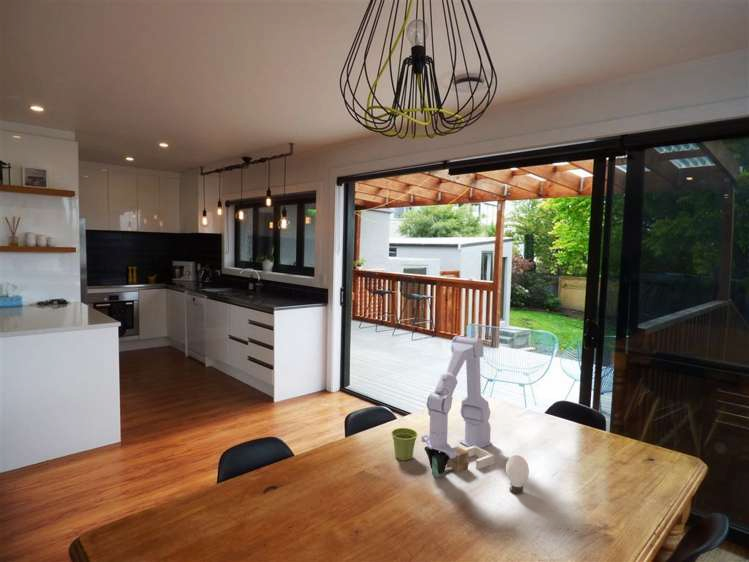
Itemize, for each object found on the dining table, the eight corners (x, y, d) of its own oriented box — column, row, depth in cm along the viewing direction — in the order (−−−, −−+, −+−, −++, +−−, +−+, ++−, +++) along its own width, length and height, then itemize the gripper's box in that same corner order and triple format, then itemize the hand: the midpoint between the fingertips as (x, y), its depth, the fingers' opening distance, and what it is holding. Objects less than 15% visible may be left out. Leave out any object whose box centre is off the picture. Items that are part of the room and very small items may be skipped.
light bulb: (512, 497, 131) (513, 462, 131) (501, 485, 138) (502, 452, 137) (532, 495, 133) (533, 460, 132) (520, 483, 139) (521, 450, 139)
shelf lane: (474, 453, 160) (475, 445, 160) (494, 463, 152) (494, 455, 152) (459, 458, 156) (459, 450, 155) (478, 469, 148) (478, 460, 148)
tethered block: (457, 463, 152) (457, 446, 152) (467, 469, 148) (468, 452, 148) (429, 472, 145) (430, 455, 145) (440, 479, 141) (440, 461, 141)
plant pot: (417, 451, 161) (417, 428, 160) (417, 464, 151) (417, 439, 151) (391, 450, 162) (392, 427, 161) (390, 462, 152) (390, 438, 152)
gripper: (414, 425, 147) (414, 464, 148) (444, 441, 135) (443, 484, 136) (430, 420, 151) (430, 459, 152) (461, 436, 139) (460, 477, 140)
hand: (437, 470), depth 144 cm, fingers closed on tethered block, 3 cm apart
